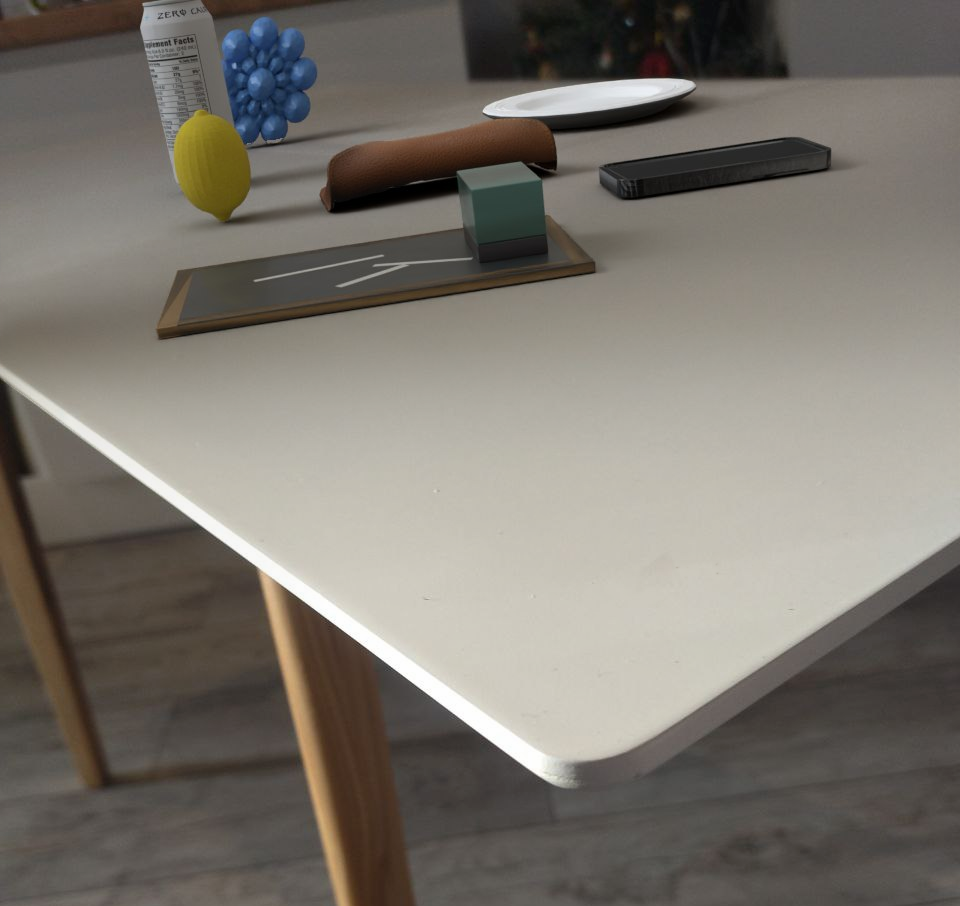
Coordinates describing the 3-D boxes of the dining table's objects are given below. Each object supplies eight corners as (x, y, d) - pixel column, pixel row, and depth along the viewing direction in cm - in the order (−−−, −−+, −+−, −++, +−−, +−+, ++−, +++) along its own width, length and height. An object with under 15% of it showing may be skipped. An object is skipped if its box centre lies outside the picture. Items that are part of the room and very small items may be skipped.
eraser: (548, 252, 69) (542, 179, 67) (479, 263, 69) (470, 189, 67) (528, 229, 76) (521, 161, 74) (464, 239, 75) (456, 170, 73)
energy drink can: (259, 180, 109) (222, -8, 102) (217, 194, 105) (175, -1, 97) (207, 181, 112) (167, -2, 105) (164, 196, 108) (119, 6, 100)
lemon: (262, 221, 92) (239, 107, 88) (188, 234, 91) (161, 118, 87) (258, 209, 96) (236, 100, 92) (188, 221, 96) (162, 111, 92)
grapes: (329, 131, 133) (308, 9, 128) (328, 139, 128) (306, 11, 122) (223, 146, 133) (198, 24, 127) (217, 155, 127) (190, 27, 121)
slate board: (158, 339, 65) (155, 328, 65) (179, 279, 78) (177, 270, 77) (596, 272, 67) (595, 260, 67) (549, 224, 79) (548, 214, 79)
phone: (595, 165, 89) (795, 134, 89) (596, 181, 89) (795, 151, 90) (620, 182, 82) (837, 149, 83) (621, 199, 82) (836, 166, 83)
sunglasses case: (525, 154, 101) (532, 81, 95) (553, 210, 97) (561, 138, 92) (312, 191, 97) (305, 118, 92) (333, 251, 94) (328, 179, 88)
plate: (440, 136, 120) (438, 115, 119) (569, 99, 133) (568, 80, 132) (613, 136, 107) (612, 113, 106) (738, 95, 120) (737, 74, 119)
